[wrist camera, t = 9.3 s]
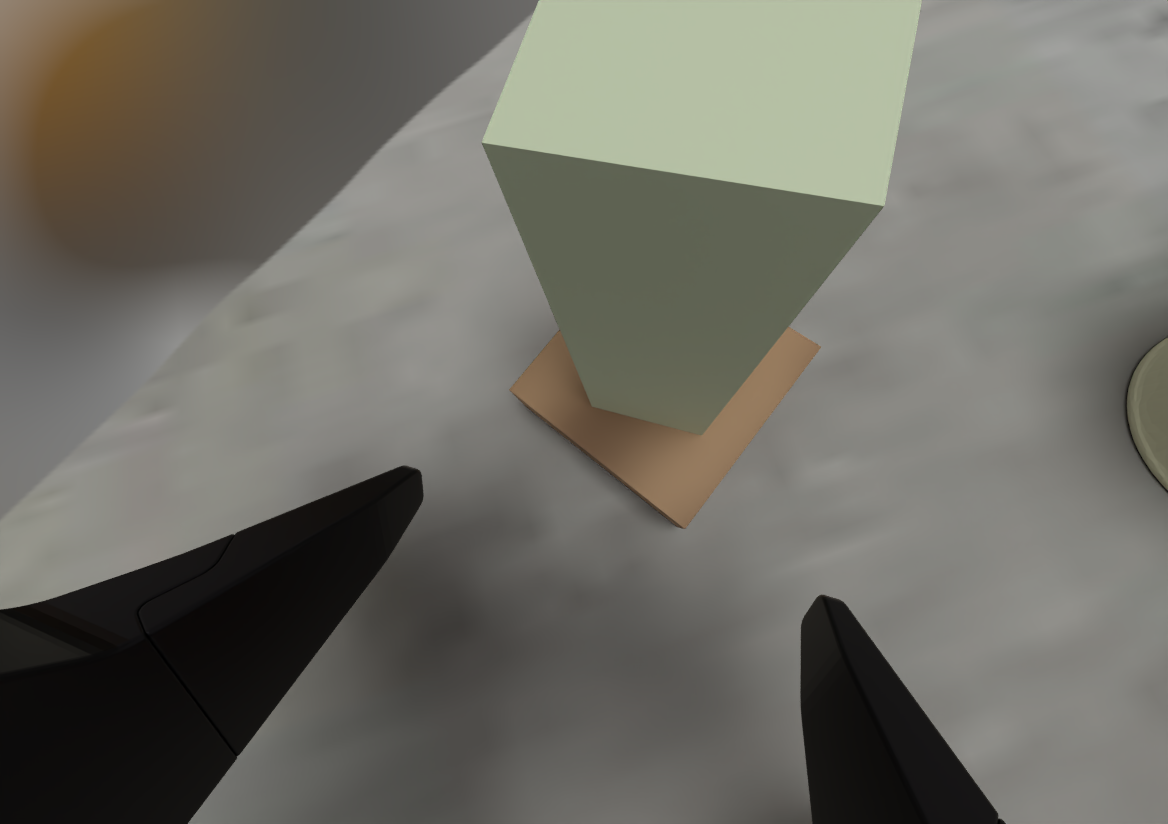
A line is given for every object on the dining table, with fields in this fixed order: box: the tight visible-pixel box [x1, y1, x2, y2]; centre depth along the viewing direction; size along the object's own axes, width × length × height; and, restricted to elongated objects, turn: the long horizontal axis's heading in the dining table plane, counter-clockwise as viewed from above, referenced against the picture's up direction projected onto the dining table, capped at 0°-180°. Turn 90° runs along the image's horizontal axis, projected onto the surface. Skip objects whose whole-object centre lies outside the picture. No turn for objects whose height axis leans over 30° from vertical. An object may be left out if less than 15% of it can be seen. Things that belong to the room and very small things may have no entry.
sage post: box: [482, 0, 922, 436], centre depth 12 cm, size 4×4×13 cm
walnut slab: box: [509, 327, 821, 529], centre depth 19 cm, size 9×9×3 cm
